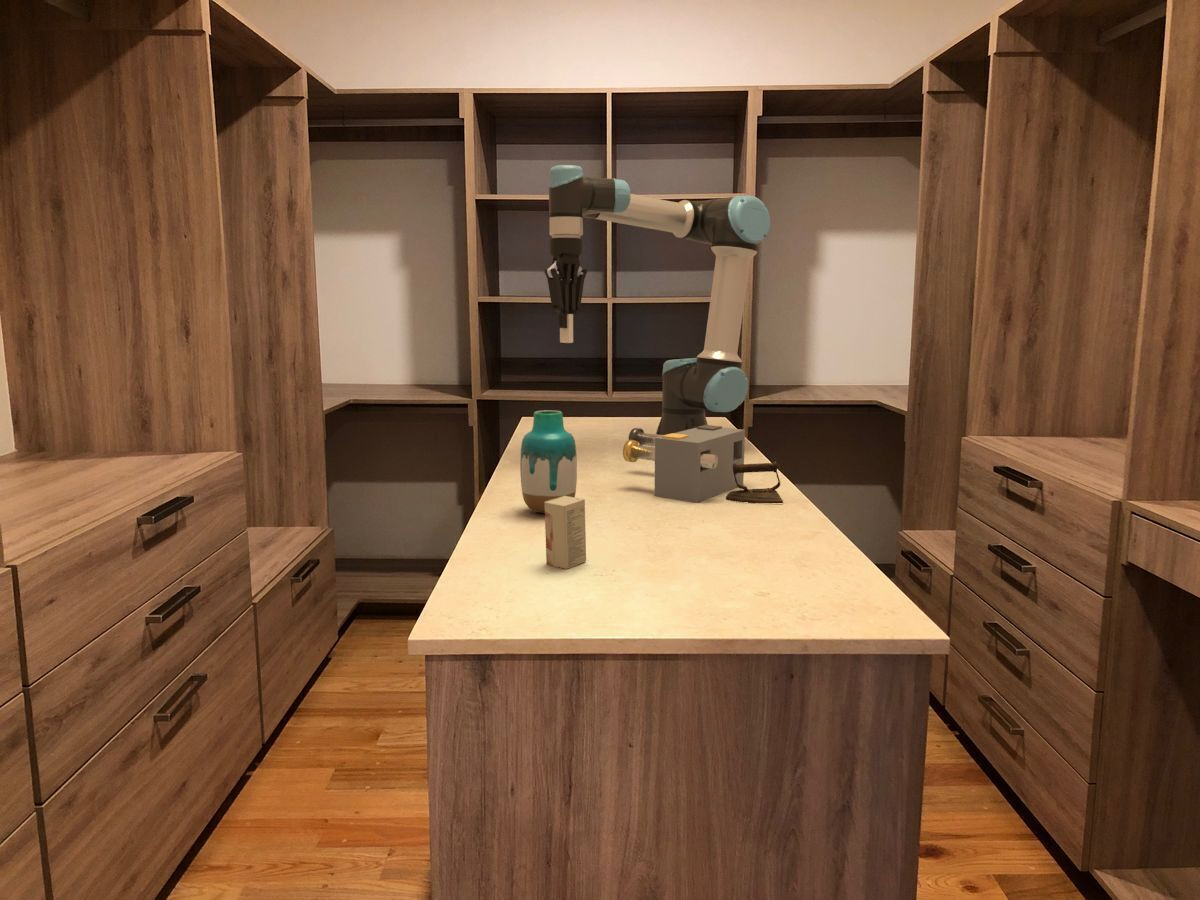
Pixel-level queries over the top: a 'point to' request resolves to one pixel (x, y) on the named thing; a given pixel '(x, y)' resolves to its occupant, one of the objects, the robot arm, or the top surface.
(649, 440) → the plunger grey
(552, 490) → the vase
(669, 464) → the console
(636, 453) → the plunger ochre
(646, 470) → the top surface
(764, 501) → the clothes iron
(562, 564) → the skincare box
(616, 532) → the top surface
